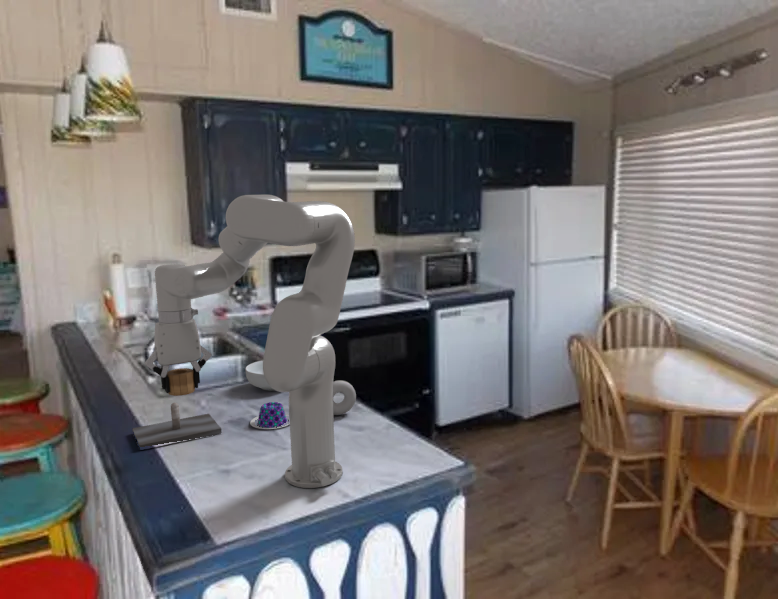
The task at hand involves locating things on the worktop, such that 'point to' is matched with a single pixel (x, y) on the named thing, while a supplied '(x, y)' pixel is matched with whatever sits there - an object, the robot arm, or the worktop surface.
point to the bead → (181, 381)
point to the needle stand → (176, 429)
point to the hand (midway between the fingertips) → (181, 388)
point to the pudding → (270, 416)
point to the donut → (348, 397)
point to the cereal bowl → (257, 375)
